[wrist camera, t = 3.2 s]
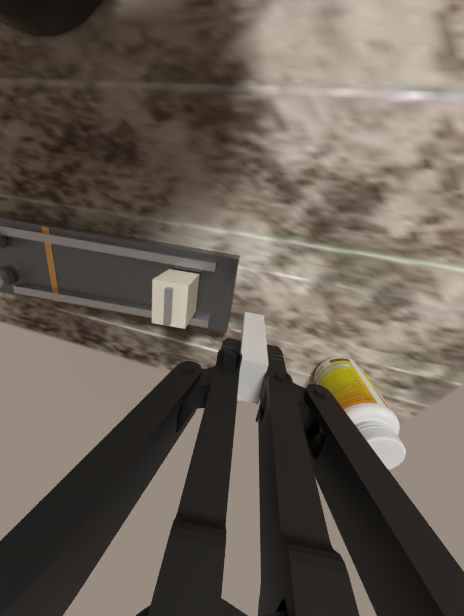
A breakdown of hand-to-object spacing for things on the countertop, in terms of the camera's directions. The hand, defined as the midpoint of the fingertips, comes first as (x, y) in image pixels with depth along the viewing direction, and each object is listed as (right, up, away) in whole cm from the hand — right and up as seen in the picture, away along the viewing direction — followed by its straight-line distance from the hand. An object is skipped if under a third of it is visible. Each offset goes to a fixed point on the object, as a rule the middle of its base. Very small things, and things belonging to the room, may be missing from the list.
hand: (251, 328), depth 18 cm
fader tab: (-7, +3, +5) cm, 9 cm away
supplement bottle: (+11, -6, +10) cm, 16 cm away
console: (-14, +6, +7) cm, 17 cm away
